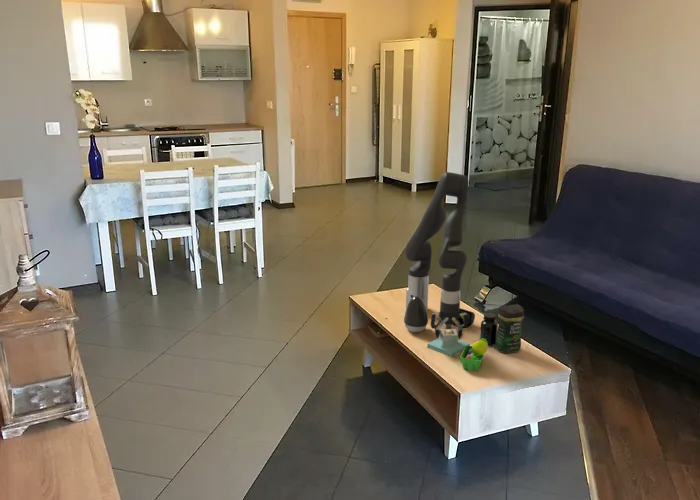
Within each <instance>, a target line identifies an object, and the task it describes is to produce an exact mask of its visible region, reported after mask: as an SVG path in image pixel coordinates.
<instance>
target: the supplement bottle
mask: <svg viewBox="0 0 700 500" xmlns="http://www.w3.org/2000/svg"><path fill="white" fill-rule="evenodd" d="M498 325H499V322H498V321H497V316H496V314H494V313H485V314H483V320H482V321H481V322H480V331H479V334H480V335H479V340H480V339H482V338H484V339H486V340H487V343H488V346H489V347H492V346H495V342H496V337H497V332H498ZM488 346H487V347H488Z"/></svg>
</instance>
